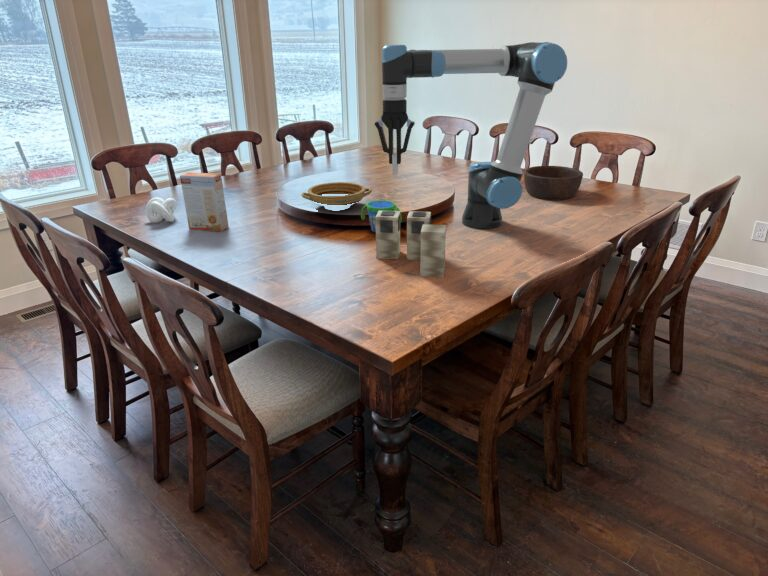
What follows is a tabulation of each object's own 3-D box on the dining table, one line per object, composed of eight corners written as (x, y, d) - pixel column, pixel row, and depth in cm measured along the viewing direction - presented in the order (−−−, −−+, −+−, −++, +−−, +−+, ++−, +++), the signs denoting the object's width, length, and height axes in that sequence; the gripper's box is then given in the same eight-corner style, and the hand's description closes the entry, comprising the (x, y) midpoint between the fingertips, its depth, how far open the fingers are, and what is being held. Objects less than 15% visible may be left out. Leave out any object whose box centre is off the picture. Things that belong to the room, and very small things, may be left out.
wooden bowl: (587, 201, 235) (591, 178, 231) (528, 202, 236) (530, 178, 232) (570, 187, 258) (573, 165, 254) (517, 187, 259) (518, 165, 254)
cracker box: (229, 227, 212) (221, 173, 203) (221, 232, 207) (213, 176, 198) (197, 224, 215) (188, 171, 207) (188, 229, 210) (179, 175, 201)
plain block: (444, 267, 172) (446, 225, 166) (443, 276, 166) (444, 232, 160) (422, 267, 173) (422, 224, 167) (420, 275, 167) (420, 231, 161)
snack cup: (406, 229, 206) (406, 203, 202) (393, 238, 198) (392, 210, 193) (370, 223, 213) (369, 197, 209) (356, 231, 205) (355, 204, 200)
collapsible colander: (366, 197, 247) (366, 179, 244) (377, 213, 226) (377, 193, 222) (300, 202, 242) (298, 184, 238) (304, 218, 220) (303, 199, 217)
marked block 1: (430, 252, 184) (431, 211, 178) (429, 260, 178) (430, 217, 172) (409, 251, 185) (409, 210, 179) (406, 259, 179) (406, 217, 173)
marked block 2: (401, 251, 186) (400, 210, 180) (398, 259, 179) (398, 216, 173) (379, 250, 187) (378, 209, 181) (376, 258, 180) (375, 216, 174)
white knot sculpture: (167, 214, 228) (163, 193, 225) (187, 218, 223) (183, 197, 219) (143, 222, 220) (139, 200, 216) (164, 226, 214) (159, 204, 210)
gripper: (372, 100, 170) (373, 176, 180) (414, 100, 168) (413, 176, 178) (375, 97, 177) (377, 170, 187) (416, 97, 175) (415, 171, 185)
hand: (395, 173), depth 182 cm, fingers closed
